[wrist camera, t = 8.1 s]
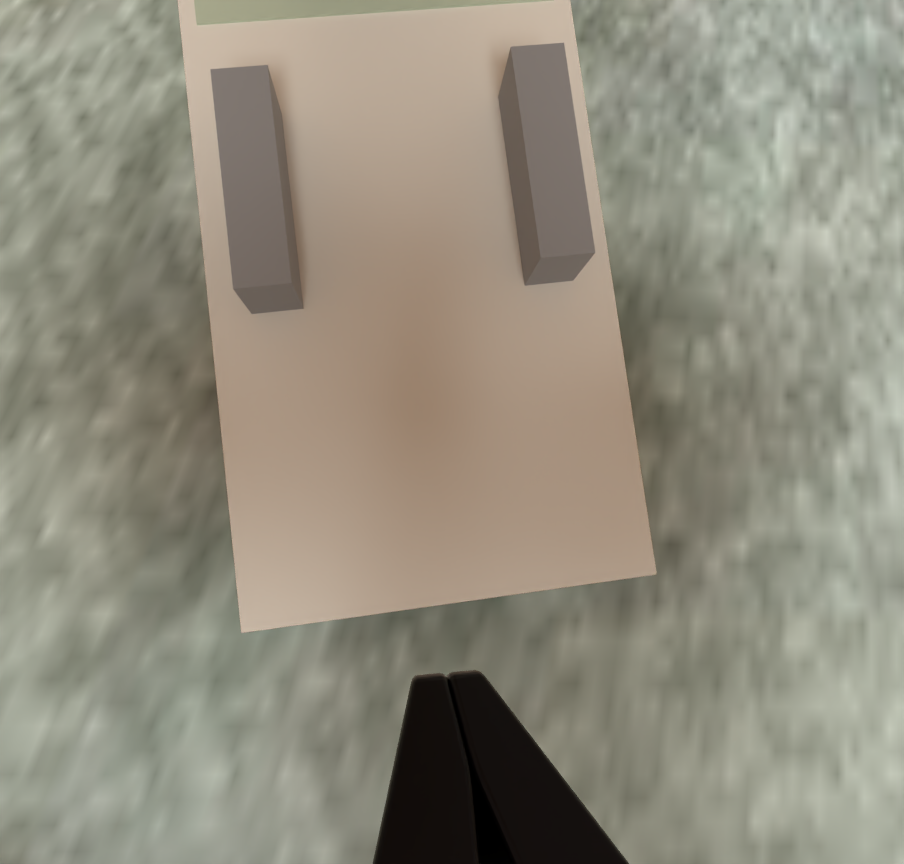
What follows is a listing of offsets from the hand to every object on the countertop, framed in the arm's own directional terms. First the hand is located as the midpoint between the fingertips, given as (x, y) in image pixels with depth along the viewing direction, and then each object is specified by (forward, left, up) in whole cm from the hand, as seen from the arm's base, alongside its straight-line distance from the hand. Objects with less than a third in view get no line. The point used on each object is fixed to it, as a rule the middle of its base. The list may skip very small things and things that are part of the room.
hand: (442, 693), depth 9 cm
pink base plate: (+8, -8, -13) cm, 17 cm away
